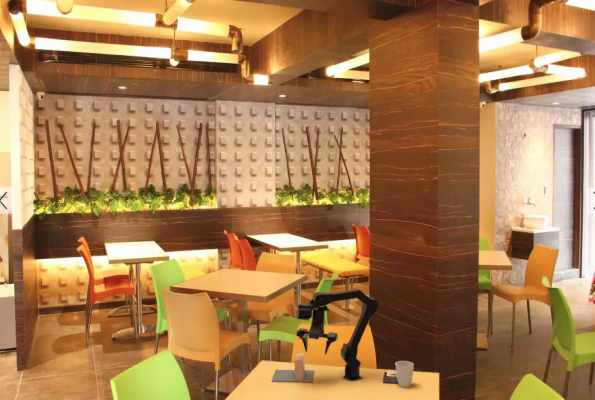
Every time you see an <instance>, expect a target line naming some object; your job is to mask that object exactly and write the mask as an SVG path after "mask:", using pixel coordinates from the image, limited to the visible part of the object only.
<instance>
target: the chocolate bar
mask: <svg viewBox="0 0 595 400" xmlns="http://www.w3.org/2000/svg"><path fill="white" fill-rule="evenodd" d="M388 370H389V371H390V372H383V373H384V374H383V379H382V384H386V385H399V384H398V381H397V376H396V369H395V370H392V369H388ZM392 372H394V373H393V374H387V373H392Z"/></svg>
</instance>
